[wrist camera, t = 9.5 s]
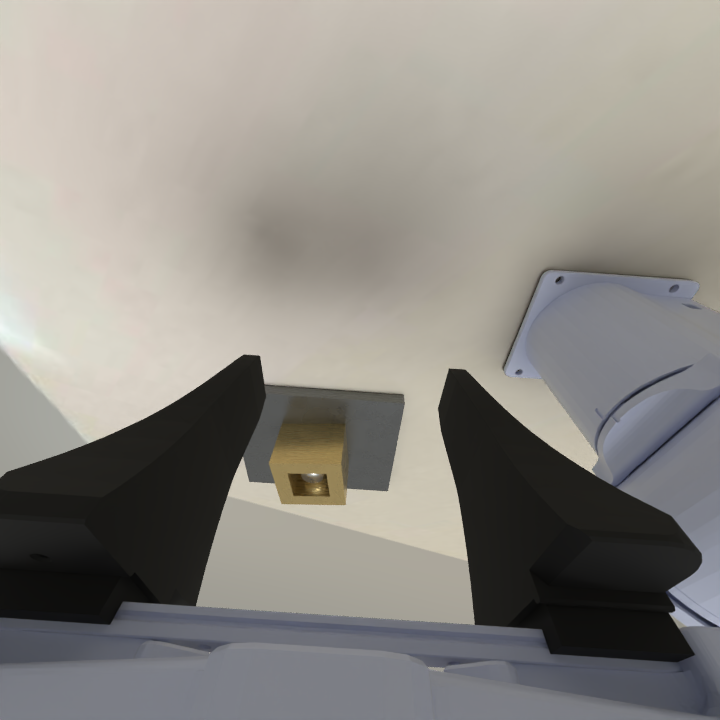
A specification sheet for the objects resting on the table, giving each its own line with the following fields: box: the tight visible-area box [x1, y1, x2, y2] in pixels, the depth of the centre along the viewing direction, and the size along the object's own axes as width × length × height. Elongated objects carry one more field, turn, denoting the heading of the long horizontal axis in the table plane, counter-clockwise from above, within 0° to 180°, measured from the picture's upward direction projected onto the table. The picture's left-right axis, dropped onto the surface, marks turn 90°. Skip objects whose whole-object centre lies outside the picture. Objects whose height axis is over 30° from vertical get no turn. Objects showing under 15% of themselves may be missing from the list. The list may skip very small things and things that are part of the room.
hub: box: [269, 424, 349, 505], centre depth 26 cm, size 5×5×4 cm
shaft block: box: [243, 385, 405, 491], centre depth 27 cm, size 14×12×4 cm
